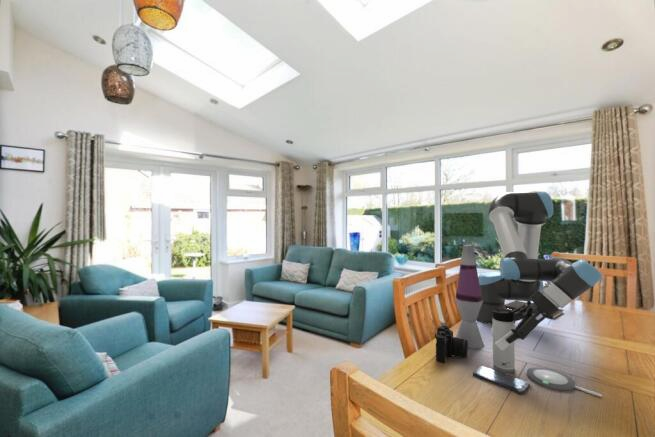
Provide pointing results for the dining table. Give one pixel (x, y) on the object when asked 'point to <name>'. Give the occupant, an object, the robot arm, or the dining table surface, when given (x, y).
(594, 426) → the dining table surface
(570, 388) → the charging pad
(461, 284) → the lamp
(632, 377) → the dining table surface
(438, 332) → the camera
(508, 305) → the hardcover book
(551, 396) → the dining table surface
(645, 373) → the dining table surface
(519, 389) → the phone
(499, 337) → the travel mug
